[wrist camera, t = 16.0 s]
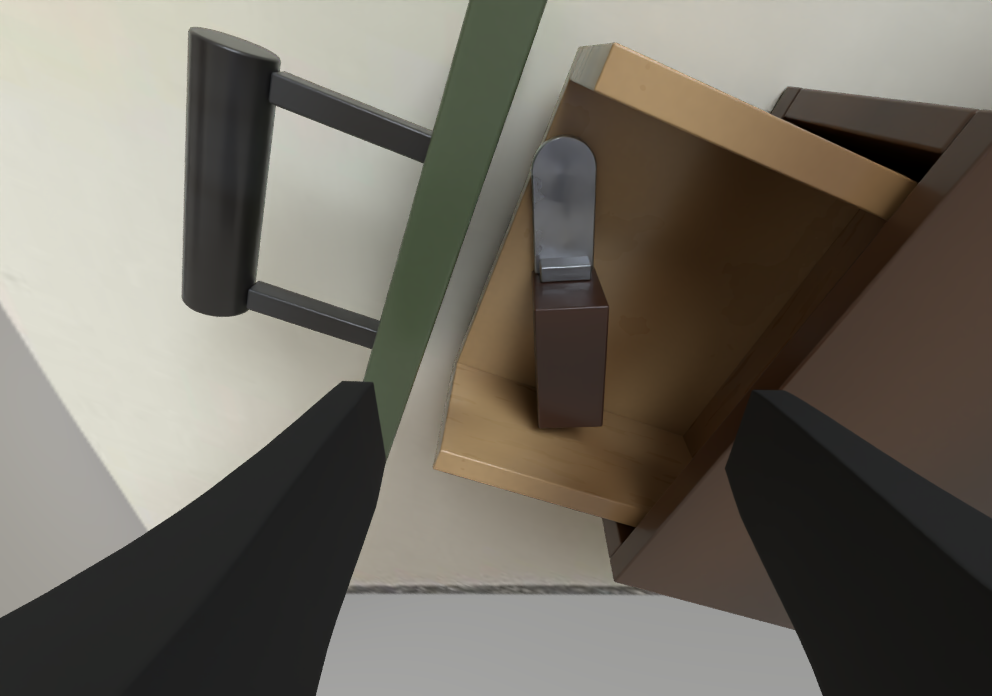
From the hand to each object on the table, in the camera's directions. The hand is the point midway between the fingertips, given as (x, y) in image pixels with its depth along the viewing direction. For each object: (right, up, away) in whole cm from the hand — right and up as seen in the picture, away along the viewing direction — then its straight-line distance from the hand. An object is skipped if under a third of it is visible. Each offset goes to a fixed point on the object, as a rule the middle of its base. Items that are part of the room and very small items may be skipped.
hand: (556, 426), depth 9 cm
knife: (+1, +4, +6) cm, 7 cm away
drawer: (0, +5, +7) cm, 8 cm away
